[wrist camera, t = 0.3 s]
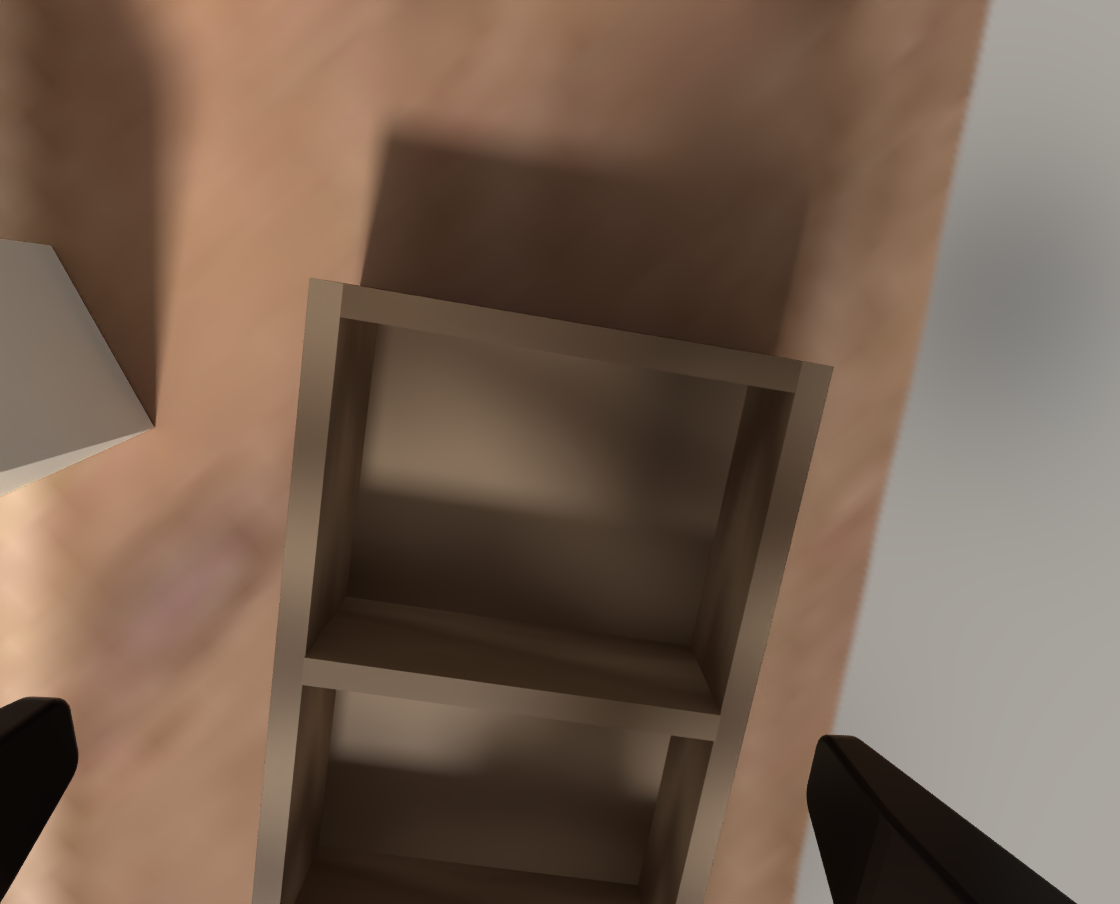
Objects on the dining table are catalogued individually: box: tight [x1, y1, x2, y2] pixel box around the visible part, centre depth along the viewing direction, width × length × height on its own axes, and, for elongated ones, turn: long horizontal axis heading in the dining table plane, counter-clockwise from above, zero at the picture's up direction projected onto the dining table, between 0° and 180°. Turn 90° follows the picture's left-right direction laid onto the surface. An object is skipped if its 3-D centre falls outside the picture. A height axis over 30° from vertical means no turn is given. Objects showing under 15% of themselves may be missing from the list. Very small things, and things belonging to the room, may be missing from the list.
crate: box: [252, 278, 834, 904], centre depth 21 cm, size 20×13×5 cm, turn 171°
